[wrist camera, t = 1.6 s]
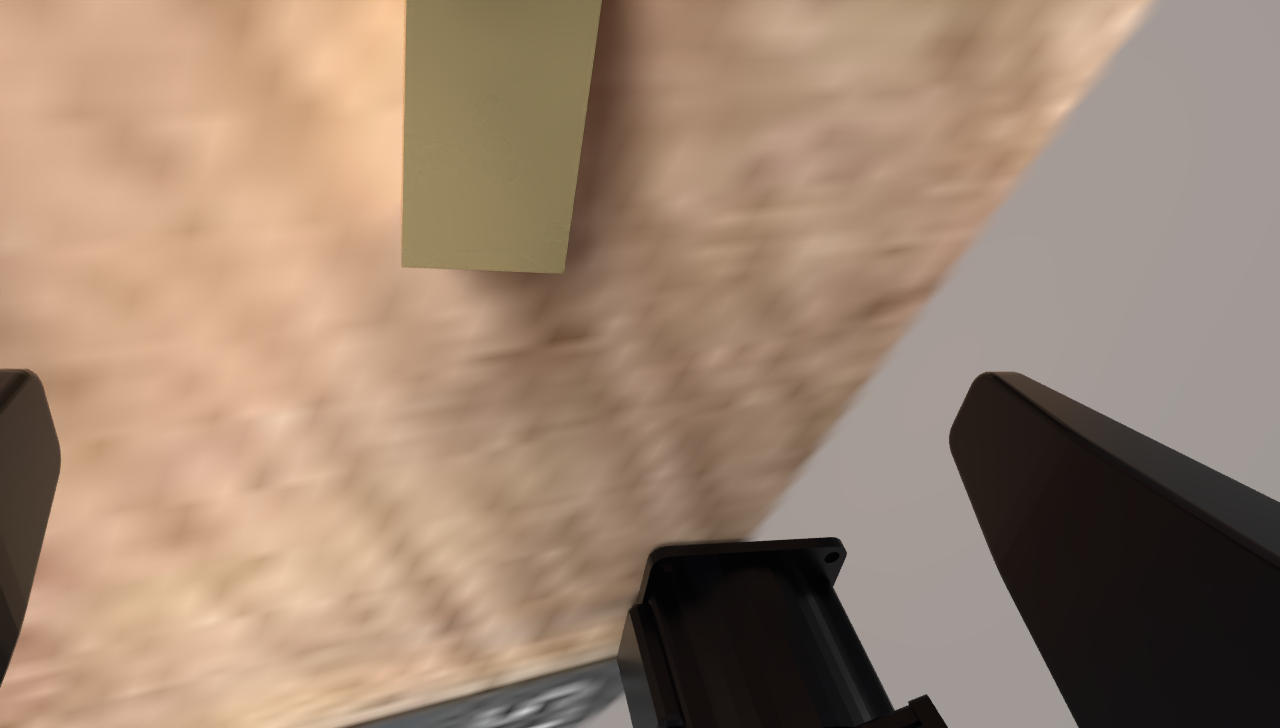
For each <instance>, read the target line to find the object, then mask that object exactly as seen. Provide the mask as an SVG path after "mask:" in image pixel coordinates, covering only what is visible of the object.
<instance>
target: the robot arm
mask: <svg viewBox="0 0 1280 728" xmlns="http://www.w3.org/2000/svg"><path fill="white" fill-rule="evenodd" d="M949 444H950V450H951V453H952V456H953V458H954V461H955V463H956V466H957V469H958V471H959V473H960V476H961V479H962V481H963V484H964V486H965V489H966V491H967V494H968V496H969V499H970V501H971V504H972V507H973V509H974V512H975V514H976V517H977V519H978V522H979V524H980V527H981V529H982V532H983V534H984V537H985V539H986V542H987V545H988V547H989V549H990V552H991V554H992V556H993V559H994V561H995V564H996V566H997V568H998V570H999V572H1000V575H1001V577H1002V579H1003V581H1004V583H1005V585H1006V587H1007V589H1008V591H1009V593H1010V595H1011V597H1012V599H1013V601H1014V603H1015V605H1016V606H1017V608H1018V610H1019V612H1020V614H1021V616H1022V618H1023V620H1024V622H1025V624H1026V626H1027V627H1028V629H1029V632H1030V634H1031V636H1032V638H1033V639H1034V641H1035V643H1036V645H1037V647H1038V649H1039V651H1040V653H1041V655H1042V657H1043V659H1044V661H1045V663H1046V665H1047V667H1048V668H1049V671H1050V673H1051V675H1052V677H1053V679H1054V680H1055V682H1056V684H1057V686H1058V688H1059V690H1060V692H1061V694H1062V696H1063V698H1064V700H1065V702H1066V704H1067V706H1068V708H1069V710H1070V712H1071V714H1072V716H1073V718H1074V719H1075V721H1076V723H1077V725H1078V727H1079V728H1280V502H1278V501H1276V500H1274V499H1272V498H1270V497H1268V496H1266V495H1264V494H1262V493H1260V492H1258V491H1256V490H1254V489H1252V488H1250V487H1248V486H1246V485H1244V484H1242V483H1240V482H1238V481H1236V480H1234V479H1231V478H1230V477H1228V476H1226V475H1223V474H1222V473H1220V472H1217V471H1215V470H1214V469H1212V468H1210V467H1207V466H1206V465H1204V464H1202V463H1200V462H1197V461H1195V460H1193V459H1191V458H1189V457H1187V456H1185V455H1183V454H1181V453H1179V452H1177V451H1175V450H1173V449H1171V448H1169V447H1167V446H1165V445H1163V444H1161V443H1159V442H1157V441H1155V440H1153V439H1151V438H1149V437H1147V436H1145V435H1143V434H1141V433H1139V432H1137V431H1135V430H1133V429H1131V428H1129V427H1127V426H1125V425H1123V424H1121V423H1119V422H1117V421H1115V420H1113V419H1111V418H1109V417H1107V416H1105V415H1103V414H1101V413H1099V412H1097V411H1095V410H1093V409H1091V408H1089V407H1087V406H1085V405H1083V404H1081V403H1079V402H1077V401H1075V400H1073V399H1070V398H1069V397H1067V396H1065V395H1063V394H1061V393H1059V392H1057V391H1054V390H1053V389H1050V388H1048V387H1047V386H1045V385H1042V384H1041V383H1038V382H1036V381H1034V380H1032V379H1030V378H1028V377H1026V376H1024V375H1022V374H1020V373H1015V372H985V373H982V374H980V375H979V376H978V377H977V378H976V379H975V380H974V381H973V383H972V384H971V387H970V389H969V391H968V393H967V395H966V397H965V399H964V402H963V404H962V406H961V408H960V410H959V412H958V414H957V416H956V418H955V420H954V423H953V425H952V427H951V430H950V435H949ZM60 466H61V452H60V445H59V441H58V437H57V434H56V430H55V427H54V423H53V420H52V416H51V412H50V409H49V405H48V402H47V398H46V395H45V391H44V387H43V385H42V382H41V380H40V379H39V377H38V376H37V374H35V373H34V372H32V371H31V370H29V369H0V687H1V684H2V682H3V679H4V676H5V674H6V671H7V669H8V666H9V664H10V661H11V658H12V655H13V652H14V649H15V647H16V644H17V641H18V638H19V635H20V632H21V628H22V624H23V621H24V617H25V613H26V610H27V606H28V602H29V597H30V593H31V589H32V585H33V581H34V577H35V573H36V569H37V565H38V560H39V556H40V552H41V548H42V544H43V540H44V536H45V532H46V528H47V523H48V519H49V515H50V511H51V507H52V503H53V499H54V495H55V491H56V486H57V482H58V478H59V473H60ZM846 554H847V552H846V550H845V548H844V546H843V544H842V542H841V541H840V539H838V538H835V537H827V538H808V539H790V540H773V541H755V542H737V543H719V544H701V545H683V546H666V547H661V548H658V549H656V550H654V551H653V552H652V553H651V554H650V555H649V557H648V559H647V564H646V568H645V572H644V576H643V580H642V584H641V588H640V592H639V596H638V600H637V604H634V605H633V606H632V607H631V608H630V610H629V611H628V614H627V618H626V623H625V627H624V631H623V635H622V639H621V643H620V647H619V652H618V656H617V661H618V665H619V669H620V675H621V679H622V683H623V687H624V691H625V695H626V699H627V703H628V707H629V712H630V716H631V721H632V725H633V728H948V727H947V725H946V724H945V722H944V720H943V719H942V717H941V716H940V714H939V713H938V711H937V709H936V708H935V706H934V705H933V703H932V701H931V700H930V698H929V697H928V696H927V694H926V695H923V696H921V697H918V698H916V699H913V700H911V701H908V703H909V705H908V706H905V707H903V708H900V709H898V710H894V708H893V706H892V704H891V702H890V700H889V698H888V696H887V694H886V692H885V690H884V688H883V686H882V684H881V682H880V680H879V678H878V676H877V674H876V672H875V670H874V668H873V666H872V664H871V662H870V660H869V658H868V656H867V654H866V652H865V650H864V648H863V646H862V644H861V642H860V640H859V638H858V636H857V634H856V632H855V630H854V628H853V626H852V624H851V622H850V620H849V618H848V616H847V614H846V612H845V610H844V608H843V606H842V604H841V602H840V601H839V598H838V596H837V594H836V592H835V590H834V588H833V586H834V583H835V581H836V579H837V576H838V574H839V572H840V569H841V567H842V565H843V563H844V560H845V558H846Z"/></svg>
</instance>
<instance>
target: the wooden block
mask: <svg viewBox="0 0 1280 728" xmlns="http://www.w3.org/2000/svg"><path fill="white" fill-rule="evenodd" d="M601 4H602V0H405V11H404V69H403V127H402V185H401V250H402V267H411V268H436V269H460V270H485V271H509V272H534V273H558V274H564V269H565V262H566V255H567V248H568V240H569V233H570V226H571V219H572V212H573V205H574V197H575V190H576V183H577V176H578V169H579V162H580V154H581V147H582V140H583V133H584V126H585V118H586V111H587V104H588V97H589V90H590V83H591V75H592V68H593V61H594V54H595V47H596V40H597V32H598V25H599V18H600V11H601Z"/></svg>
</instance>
